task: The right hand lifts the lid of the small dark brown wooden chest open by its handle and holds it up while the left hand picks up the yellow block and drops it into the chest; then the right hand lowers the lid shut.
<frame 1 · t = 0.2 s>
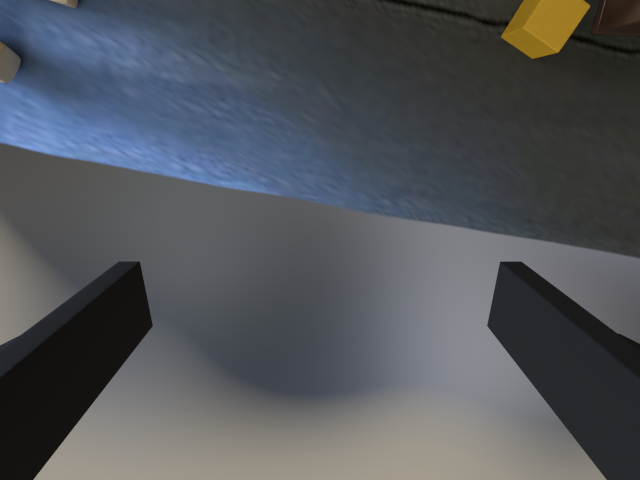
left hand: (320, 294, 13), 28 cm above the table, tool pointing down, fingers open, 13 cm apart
block: (530, 27, 34), on the table
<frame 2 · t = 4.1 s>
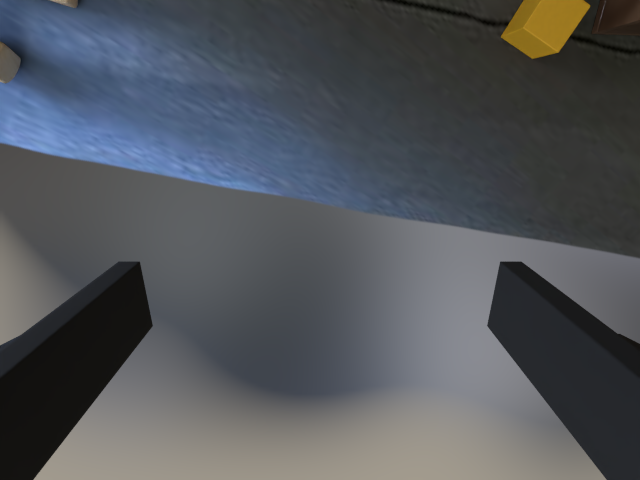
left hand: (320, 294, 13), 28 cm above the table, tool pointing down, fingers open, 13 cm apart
block: (530, 27, 34), on the table
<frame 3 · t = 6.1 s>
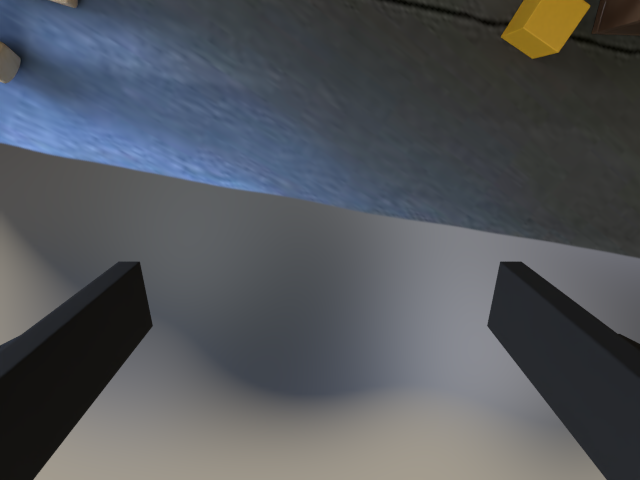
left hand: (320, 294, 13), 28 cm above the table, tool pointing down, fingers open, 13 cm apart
block: (530, 27, 34), on the table
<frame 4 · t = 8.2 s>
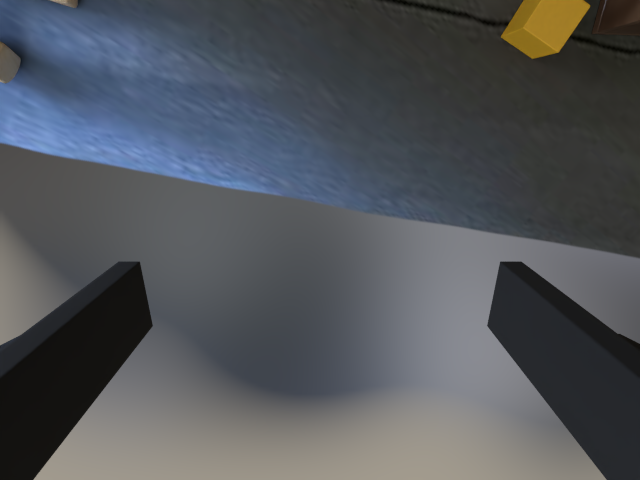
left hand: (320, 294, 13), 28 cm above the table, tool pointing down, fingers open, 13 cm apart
block: (530, 27, 34), on the table
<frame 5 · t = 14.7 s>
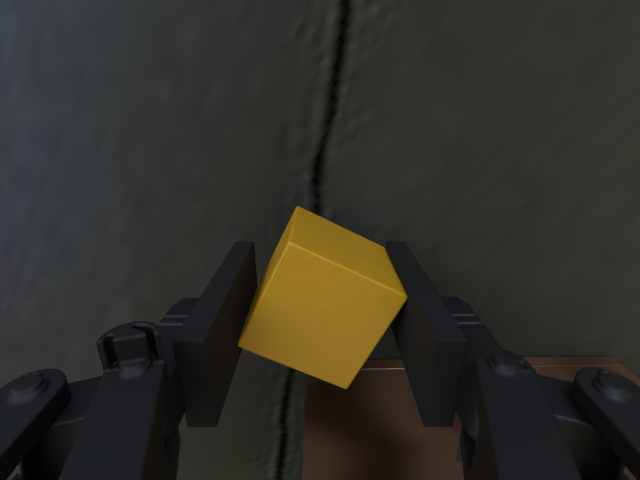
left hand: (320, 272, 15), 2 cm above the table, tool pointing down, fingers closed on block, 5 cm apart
block: (320, 267, 15), point 2 cm above the table, touching left hand
chest: (446, 435, 21), on the table
when the left hand's fingers open (15 cm above the table, at t = 17.6 s): block drops 13 cm, resting on chest.
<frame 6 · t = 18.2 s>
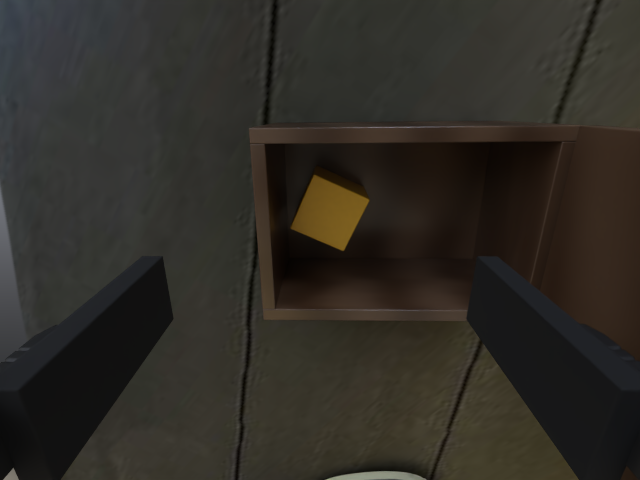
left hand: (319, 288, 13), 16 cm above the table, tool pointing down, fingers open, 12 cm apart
block: (329, 199, 27), point 1 cm above the table, touching chest
chest: (382, 197, 28), on the table, touching block
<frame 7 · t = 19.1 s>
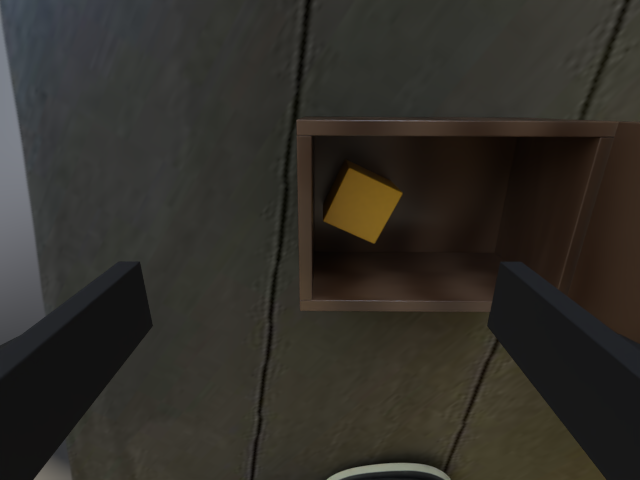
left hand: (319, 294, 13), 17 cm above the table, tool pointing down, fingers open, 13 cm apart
block: (356, 193, 28), point 1 cm above the table, touching chest
chest: (407, 192, 28), on the table, touching block
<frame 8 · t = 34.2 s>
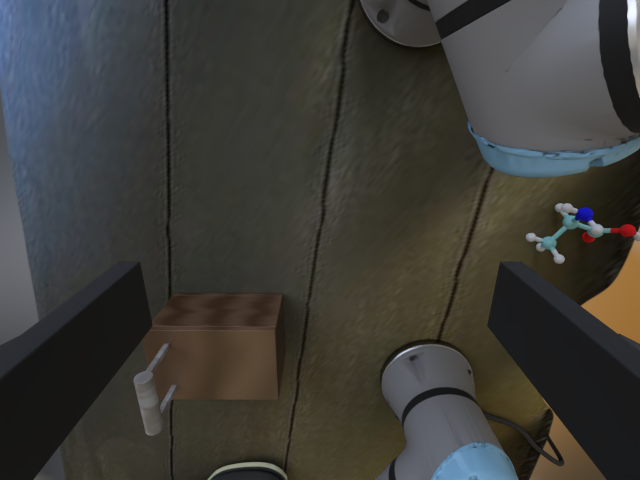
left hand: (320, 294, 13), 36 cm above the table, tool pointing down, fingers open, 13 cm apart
lid: (204, 384, 44), point 13 cm above the table, hinge at -0.1°
molecular model: (559, 219, 50), on the table
chest: (231, 324, 56), on the table, touching block
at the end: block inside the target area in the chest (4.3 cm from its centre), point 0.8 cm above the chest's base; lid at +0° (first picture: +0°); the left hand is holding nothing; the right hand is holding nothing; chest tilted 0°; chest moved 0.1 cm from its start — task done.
